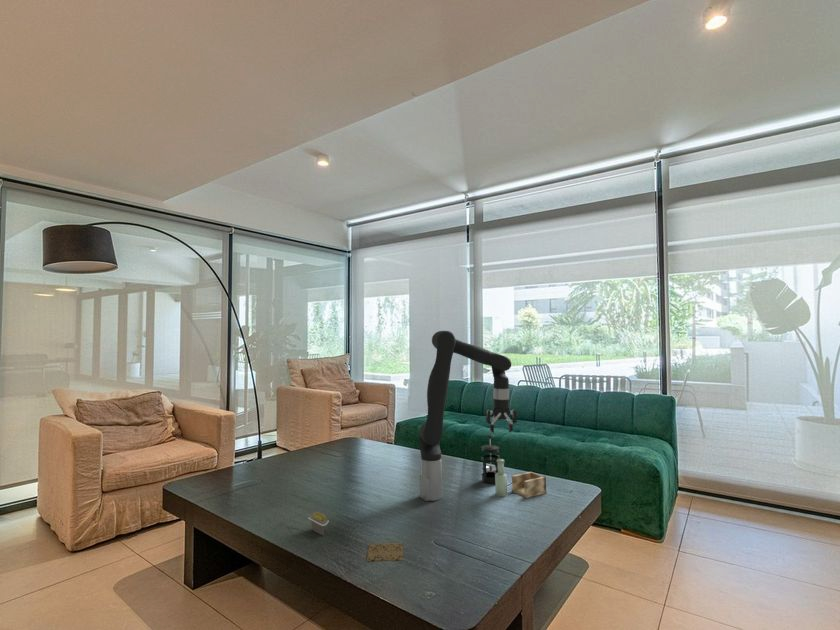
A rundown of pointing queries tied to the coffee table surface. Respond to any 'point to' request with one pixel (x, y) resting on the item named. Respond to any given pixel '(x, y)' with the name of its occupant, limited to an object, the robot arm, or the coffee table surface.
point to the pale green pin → (501, 480)
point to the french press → (490, 471)
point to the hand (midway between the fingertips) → (501, 432)
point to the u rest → (529, 484)
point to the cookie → (385, 552)
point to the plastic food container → (318, 522)
